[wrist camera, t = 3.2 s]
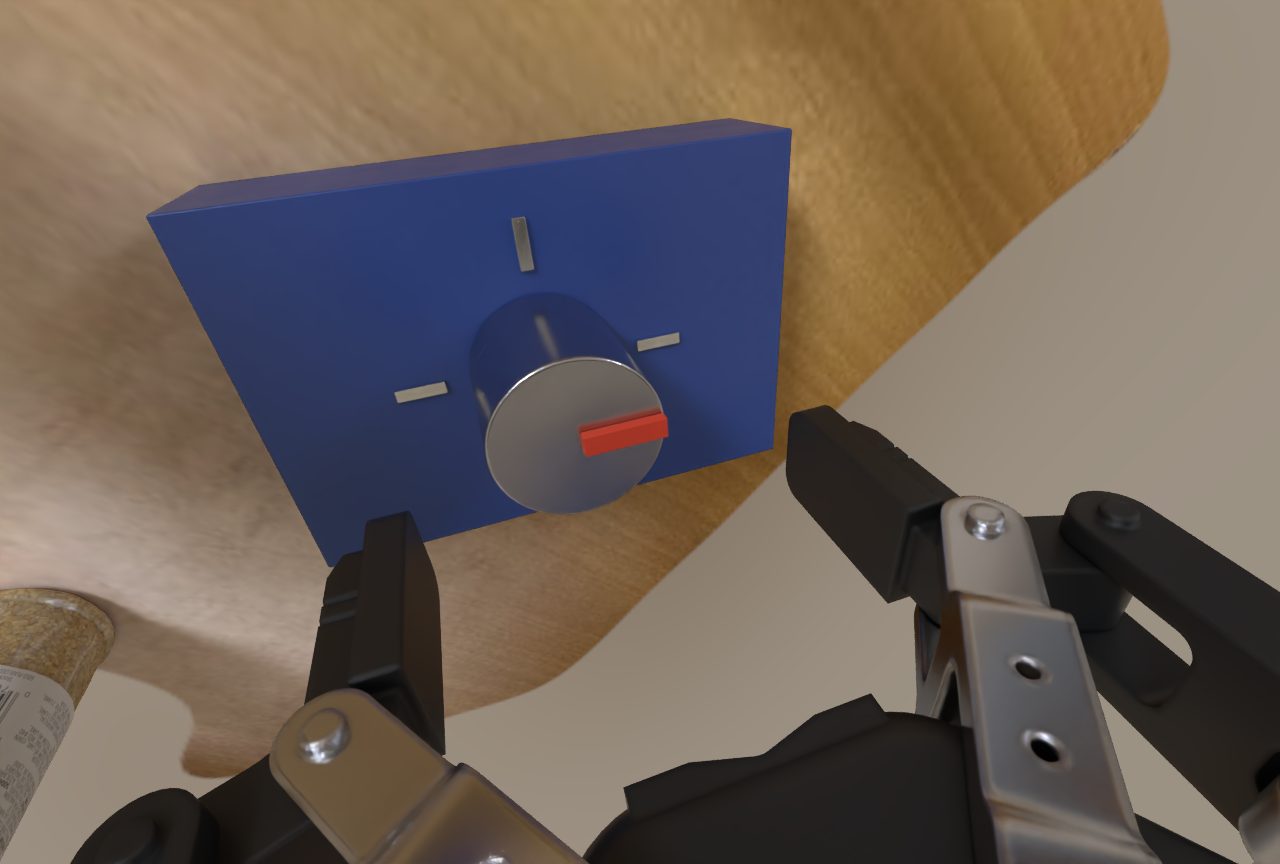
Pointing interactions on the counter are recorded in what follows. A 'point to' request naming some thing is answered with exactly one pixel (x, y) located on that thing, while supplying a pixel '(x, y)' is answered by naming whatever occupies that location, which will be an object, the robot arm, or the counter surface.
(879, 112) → the counter surface
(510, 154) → the blue knob base block
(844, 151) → the counter surface
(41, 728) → the sprinkles bottle
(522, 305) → the silver pointer knob
